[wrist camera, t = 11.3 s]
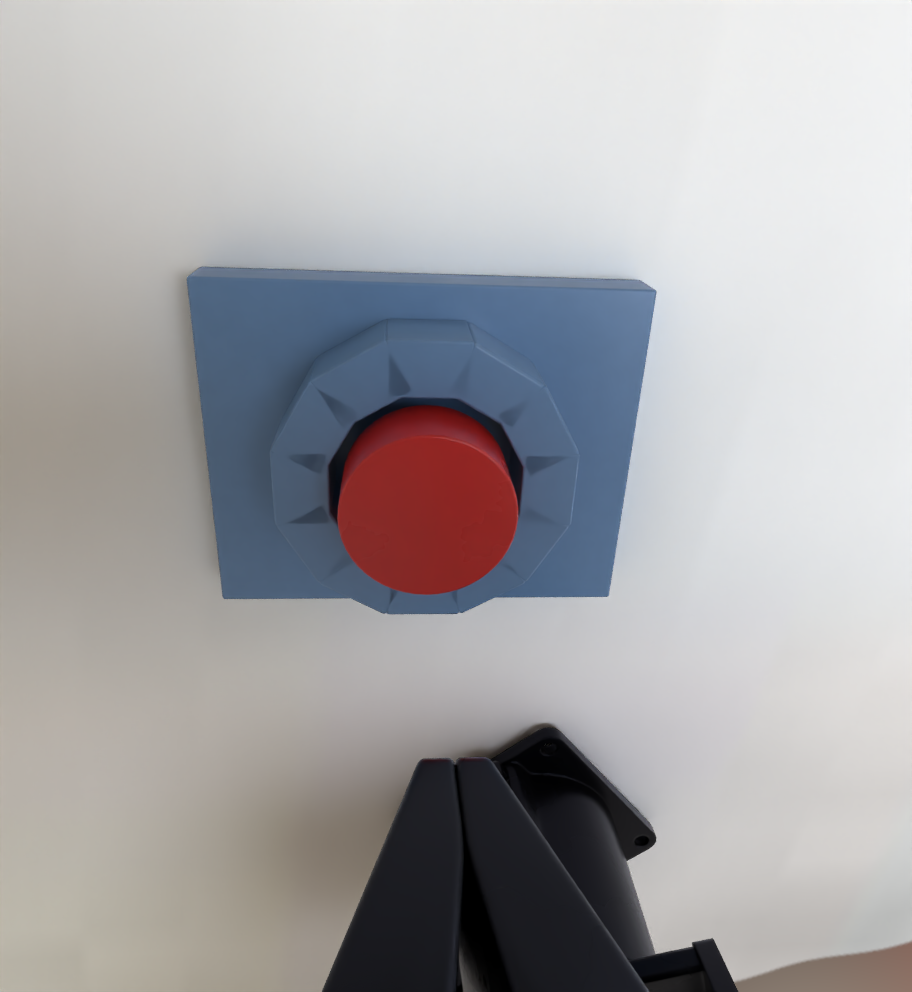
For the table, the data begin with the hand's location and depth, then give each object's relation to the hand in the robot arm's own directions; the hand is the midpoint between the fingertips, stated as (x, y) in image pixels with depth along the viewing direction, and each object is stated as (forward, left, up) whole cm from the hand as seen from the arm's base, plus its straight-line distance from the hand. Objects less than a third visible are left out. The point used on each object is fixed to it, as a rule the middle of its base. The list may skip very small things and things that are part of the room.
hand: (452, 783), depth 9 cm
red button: (0, 0, -8) cm, 8 cm away
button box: (0, 0, -11) cm, 11 cm away
